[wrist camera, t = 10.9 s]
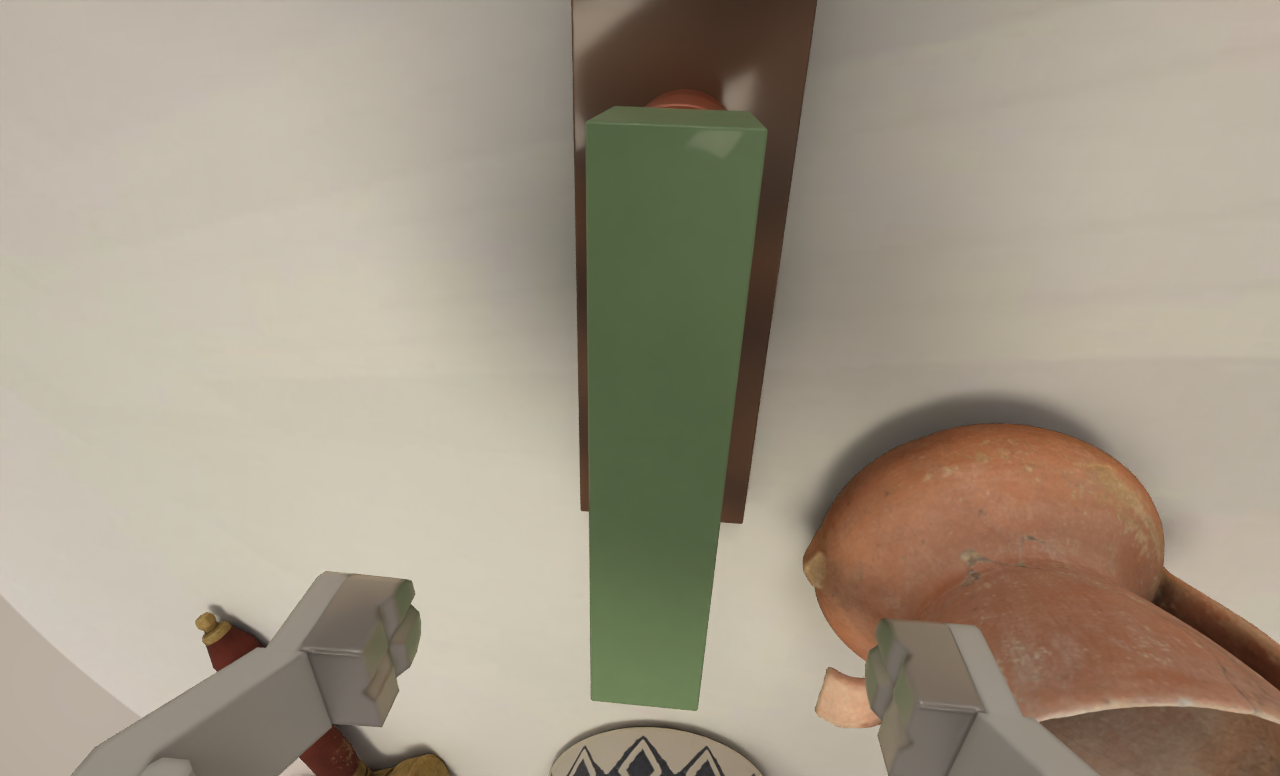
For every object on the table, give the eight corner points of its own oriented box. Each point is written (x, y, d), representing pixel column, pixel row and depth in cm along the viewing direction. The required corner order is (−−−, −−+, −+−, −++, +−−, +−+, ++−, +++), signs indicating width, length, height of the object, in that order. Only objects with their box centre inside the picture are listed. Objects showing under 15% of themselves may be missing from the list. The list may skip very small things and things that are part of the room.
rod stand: (578, -14, 21) (500, -61, 13) (811, -7, 21) (886, -51, 12) (585, 492, 32) (544, 647, 23) (740, 504, 31) (755, 666, 23)
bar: (612, 105, 14) (584, 120, 11) (750, 111, 14) (767, 128, 11) (607, 598, 22) (590, 701, 18) (697, 606, 22) (697, 711, 18)
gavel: (113, 664, 37) (231, 624, 34) (174, 608, 41) (284, 568, 38) (322, 866, 44) (434, 847, 41) (356, 801, 48) (460, 779, 45)
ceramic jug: (759, 606, 34) (795, 917, 22) (807, 378, 28) (897, 641, 15) (1089, 640, 34) (1321, 984, 21) (1223, 414, 27) (1685, 725, 14)
